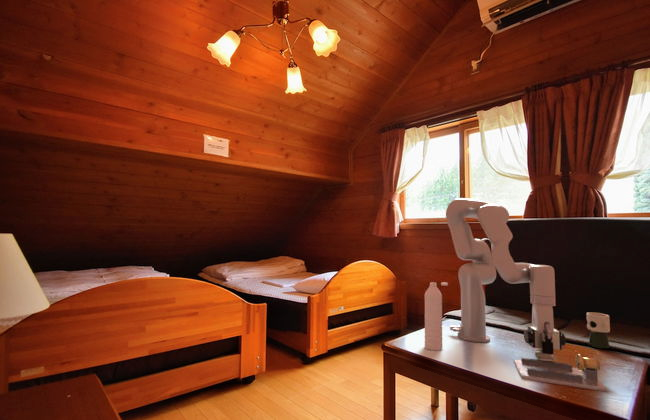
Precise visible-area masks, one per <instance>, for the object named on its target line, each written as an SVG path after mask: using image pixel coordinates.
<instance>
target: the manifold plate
mask: <svg viewBox="0 0 650 420" xmlns="http://www.w3.org/2000/svg"><path fill="white" fill-rule="evenodd" d="M574 359H575V360H574V361H575V365H576V367H573V365H572V364H571V363H566V362H565V363H564V362H558V361H553V362H551V361H543V360H540V359H537V358H536V359H534V358H528V357H527V358H526V357H521V358H520V359H513V364H514V365H515V368H516V370H517V372H518V374H519V376H520V378H521V380H522V379H523V380H529V381H535V382H536V381H537V382H542V383H549V384H554V385H555V384H556V385H562V386H569V387H575V388H581V389H589V390H595V391H601V392H607V386H605V385H604V384H603V383H602V382H601V381H600V380H599V379H598V371H600V370H601V363H600V360H599V358H592V357H583V355H582V354H581V353H576V354H575V358H574Z"/></svg>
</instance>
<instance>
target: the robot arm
mask: <svg viewBox="0 0 650 420" xmlns="http://www.w3.org/2000/svg"><path fill="white" fill-rule="evenodd" d="M466 218H467V219H477V220H478V222H479V224H480V226H481V227H482V229H483V231H484V233H485V235H486V237H487V239H488V241H489V242H490V247H489V246H488V244H487V242H485V241H484V240H482V239H480V238H474V235H473V233H472V229H471V226H470V225H469V223H468V222H467V221H466ZM445 219H446V223H447V226H448V228H449V231H450V235H451V239H452V243H453V246H454V251H455V253H456V256H457V258H458V259H460V260H462V261H472V262H469V263H468V262H466V263H465V264H463V265H461V266H460V267H459V269H458V271H457V272H458V274H457V275H458V281H459V287H460V310H461V311H460V312H461V313H460V314H461V315H460V325H457V326H456V325H450V326H449V330H450V331H452V332H457V337H458V338H459V339H461V340H464V341H467V342H473V343H487V342H490V340H491V337H490V336H489V335H488V334H487V329H486V328H487V327H486V324H487V323H486V322H487V321H486V318H487V315H486V294H485V290H484V287H483V286H484V285H489V284H493V283H494V281H495V280H496V279H497V273H498V274H499V277H501V279H502V280H503V281H505V282H506V283H508V284H512V285H513V284H515V285H516V284H525V283H529V293H530V294H529V295H530V296H529V298H530V300H529V301H530V304H532V307H531V308H532V309H531V327H534V328H535V329H536V330H537V333H538V334H540V333H542V339H543V341H542V352H543V353H545V354H554V349H553V338H552V335H553V334H554V328H555V324H554V309H553V307H555V306H556V285H555V284H556V279H555V274H556V273H555V268H554V267H553V266H551V265H546V264H533V263H528V262H515V261H514V259H513V257H512V256H511V254H510V249H509V244H510V242H511V241H512V240H513V238H514V237H513V233H512V231H511V229H510V228H509V226H508V225H507V223H508V222H509V221H510V213H509V211H508V209H507V208H506V207H504V206H503V205H498V204H494V203H491V202H487V201H484V200H479V199H473V198H465V197H464V198H463V197H461V198H455V199H453V200H451V202H449V204H448V205H447V207H446V210H445ZM544 326H545V327H544ZM544 335H546V336H544Z"/></svg>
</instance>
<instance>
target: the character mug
mask: <svg viewBox="0 0 650 420" xmlns="http://www.w3.org/2000/svg"><path fill="white" fill-rule="evenodd" d="M586 321H587V323H586V328H587V330H589V331H590V332H589V338H588V345H589V346H591V347H593V348H598V349H601V350H603V349H610V343H609V338H608V334H607V333H610V331H611V325H610V322H611V321H610V315H609V314H605V313H601V312H594V311H593V312H586Z"/></svg>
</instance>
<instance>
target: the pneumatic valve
mask: <svg viewBox="0 0 650 420" xmlns="http://www.w3.org/2000/svg"><path fill="white" fill-rule="evenodd" d="M544 327H545V326H544ZM544 336H546V335H544ZM523 338H524V342H525V343H526V344H528V345H529V346H530V347H531V348H533V349H536V351H535V353H534V355H535V358H536V359H537V360H543V361H551V362H554V360H555V354H554V353H553V354H545V353H543V352H542V341H543V339H542V333H540V334H538V333H537V330H536V329H535V328H534V327H532V325H531V326H530V325H529V326H527V328H526V329H524V331H523ZM552 338H553V351H555V350H556V351H562V350H563V349H562V348H563V347H565V346H566V343H567V341H566V340H567V338H566V336H565V334H564V333H563V332H562V331H561V330H559V329H557V328H555V327H554V334H553V335H552Z"/></svg>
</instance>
